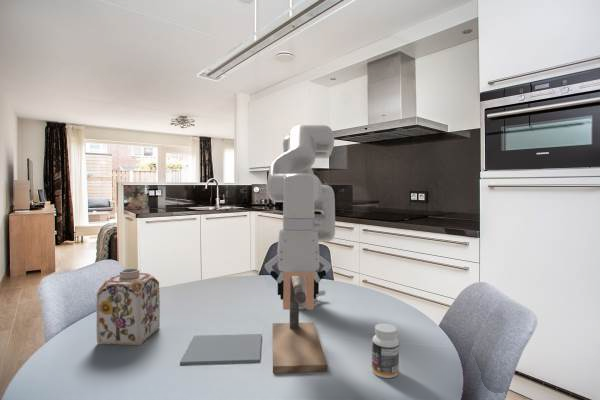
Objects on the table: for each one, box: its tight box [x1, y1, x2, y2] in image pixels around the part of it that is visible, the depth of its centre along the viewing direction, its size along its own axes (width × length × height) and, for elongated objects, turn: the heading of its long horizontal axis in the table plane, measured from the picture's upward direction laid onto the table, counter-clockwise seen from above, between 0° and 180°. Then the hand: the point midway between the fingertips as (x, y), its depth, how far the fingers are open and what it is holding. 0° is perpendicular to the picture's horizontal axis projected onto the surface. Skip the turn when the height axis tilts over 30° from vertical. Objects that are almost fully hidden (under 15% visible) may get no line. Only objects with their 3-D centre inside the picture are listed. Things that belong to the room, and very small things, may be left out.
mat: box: [179, 333, 262, 365], centre depth 84 cm, size 18×14×1 cm
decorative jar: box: [95, 267, 161, 346], centre depth 91 cm, size 12×12×18 cm
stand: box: [272, 276, 328, 374], centre depth 85 cm, size 12×24×17 cm, turn 5°
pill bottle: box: [371, 323, 400, 379], centre depth 74 cm, size 6×6×10 cm
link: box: [282, 271, 314, 311], centre depth 81 cm, size 7×4×10 cm, turn 95°
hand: (297, 296), depth 81 cm, fingers closed on link, 7 cm apart
